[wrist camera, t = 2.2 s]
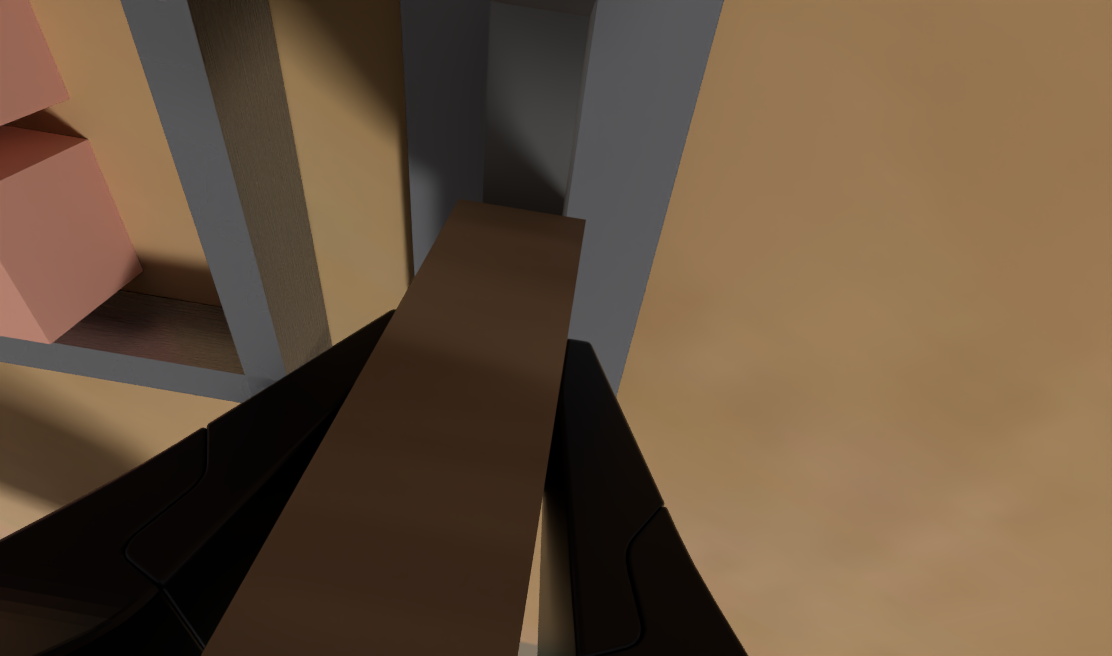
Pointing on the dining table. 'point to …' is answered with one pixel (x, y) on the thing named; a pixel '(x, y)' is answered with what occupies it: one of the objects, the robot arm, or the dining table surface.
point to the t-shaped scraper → (446, 402)
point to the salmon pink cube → (56, 235)
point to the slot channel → (213, 218)
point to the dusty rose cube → (25, 64)
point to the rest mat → (602, 148)
